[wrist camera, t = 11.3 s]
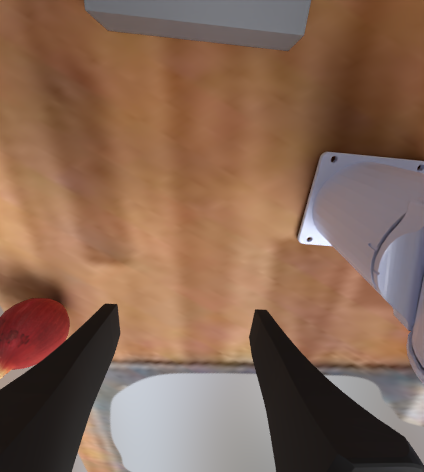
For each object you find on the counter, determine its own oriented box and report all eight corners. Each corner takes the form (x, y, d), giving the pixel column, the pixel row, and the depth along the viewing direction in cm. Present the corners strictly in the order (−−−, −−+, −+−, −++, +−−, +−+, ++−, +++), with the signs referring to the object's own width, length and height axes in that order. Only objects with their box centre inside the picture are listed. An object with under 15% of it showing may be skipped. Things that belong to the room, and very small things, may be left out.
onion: (17, 294, 25) (-64, 363, 18) (58, 274, 24) (-10, 339, 16) (55, 329, 27) (-2, 404, 20) (95, 312, 26) (49, 385, 19)
